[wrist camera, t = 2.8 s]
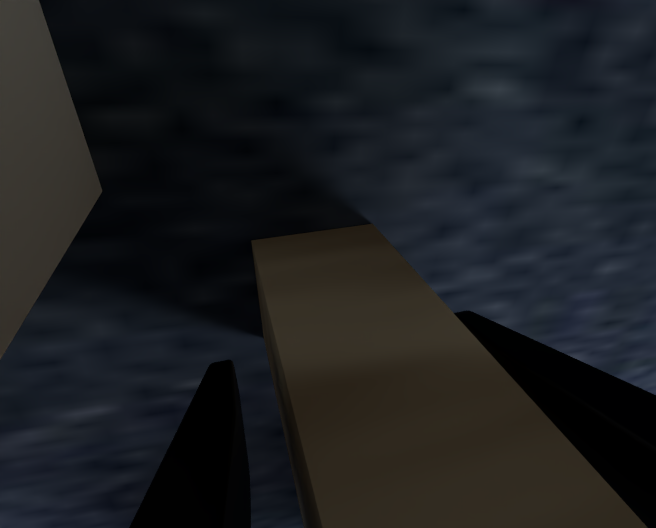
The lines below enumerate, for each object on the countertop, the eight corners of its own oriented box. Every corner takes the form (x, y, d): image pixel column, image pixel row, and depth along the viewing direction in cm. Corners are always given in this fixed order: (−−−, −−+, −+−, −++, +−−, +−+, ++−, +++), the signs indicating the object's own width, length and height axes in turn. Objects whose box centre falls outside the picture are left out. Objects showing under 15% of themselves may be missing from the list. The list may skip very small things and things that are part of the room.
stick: (367, 317, 11) (703, 886, 4) (264, 338, 10) (422, 1088, 3) (372, 223, 10) (968, 881, 2) (251, 240, 9) (514, 1294, 1)
